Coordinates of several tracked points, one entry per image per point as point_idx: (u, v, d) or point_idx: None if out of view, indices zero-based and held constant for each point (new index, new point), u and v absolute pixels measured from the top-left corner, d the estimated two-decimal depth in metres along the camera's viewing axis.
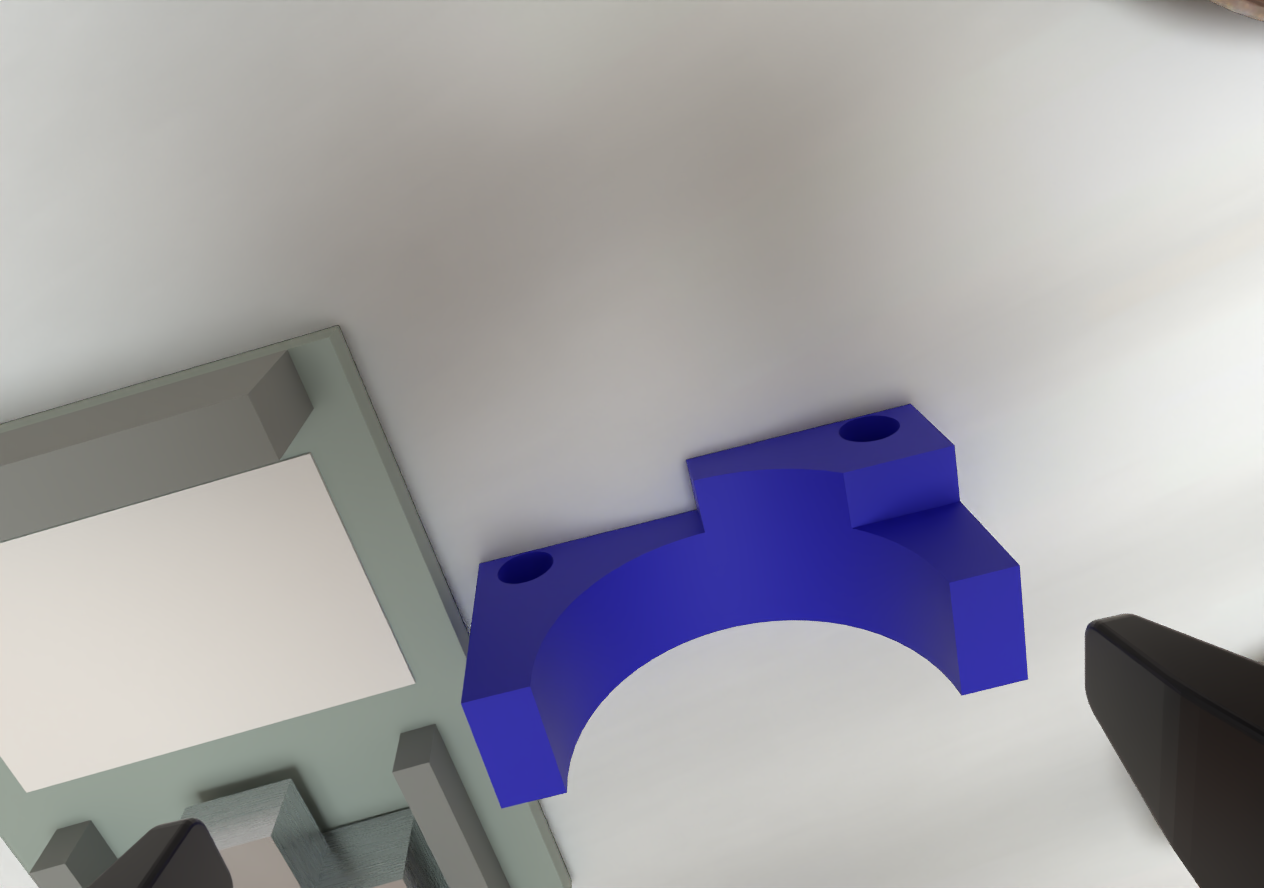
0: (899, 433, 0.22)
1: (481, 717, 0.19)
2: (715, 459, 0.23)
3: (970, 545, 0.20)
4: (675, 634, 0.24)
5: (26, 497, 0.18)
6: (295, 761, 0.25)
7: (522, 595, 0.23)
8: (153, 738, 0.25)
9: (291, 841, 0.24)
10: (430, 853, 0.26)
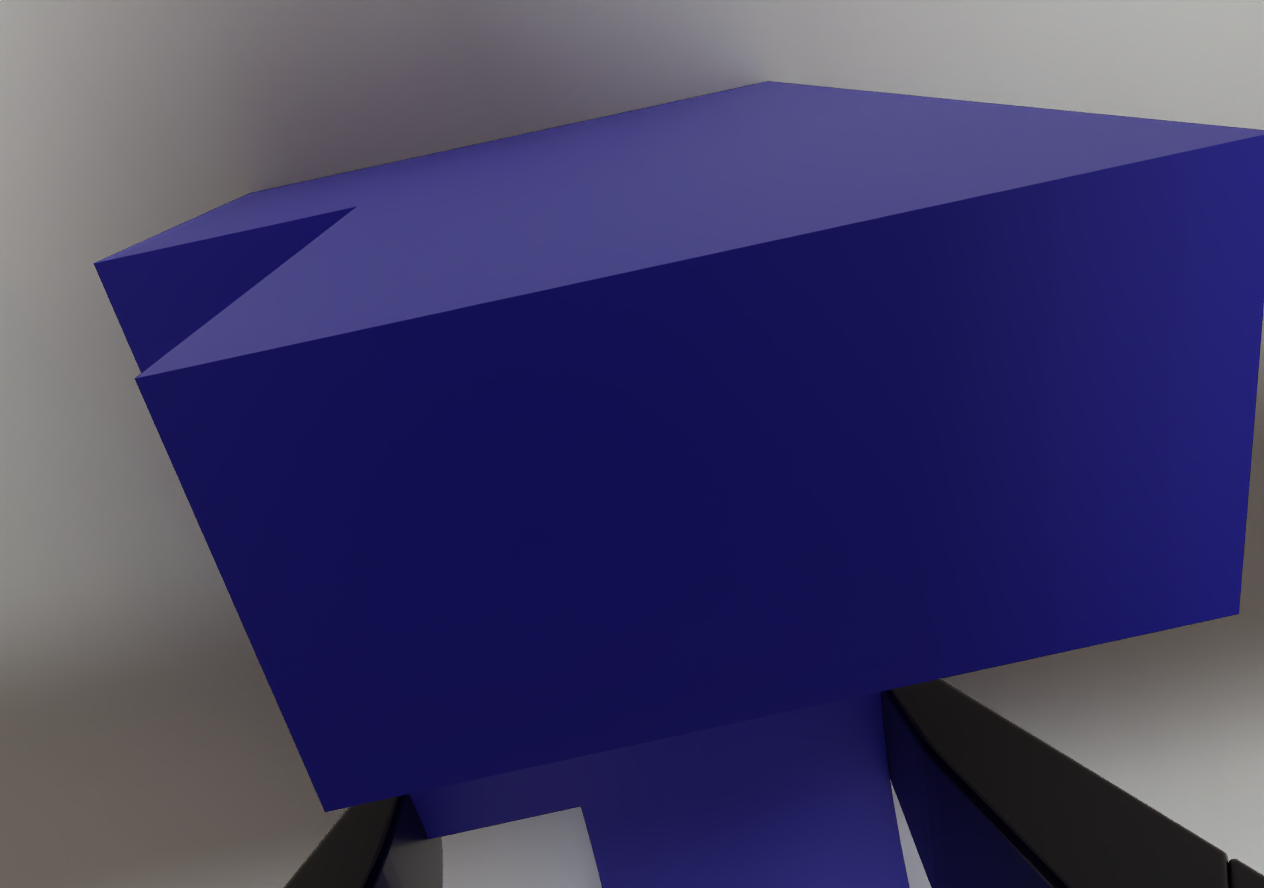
0: None
1: None
2: None
3: None
4: (867, 868, 0.09)
5: None
6: None
7: None
8: None
9: None
10: None
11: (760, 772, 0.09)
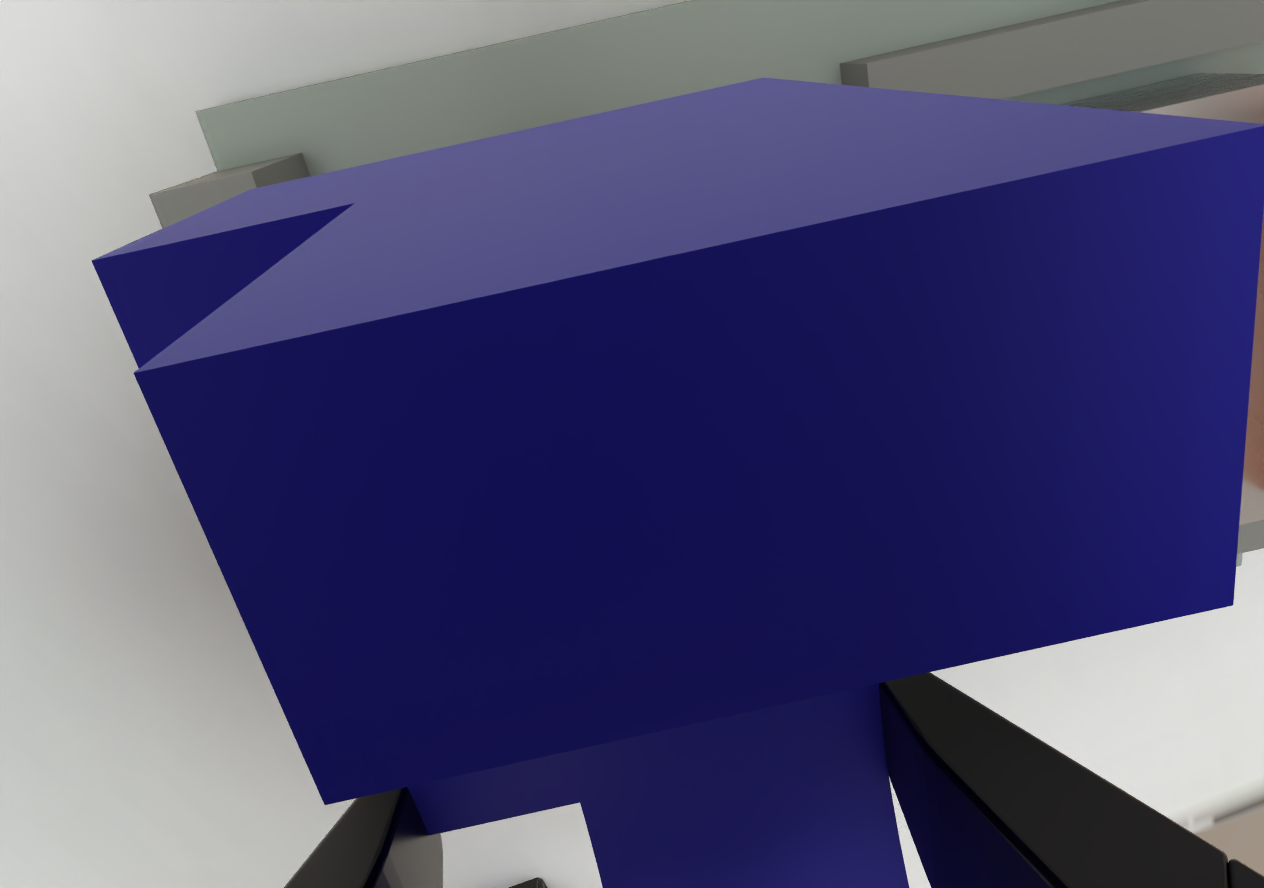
0: None
1: None
2: None
3: None
4: (866, 862, 0.09)
5: None
6: None
7: None
8: None
9: None
10: (1073, 105, 0.16)
11: (759, 767, 0.09)
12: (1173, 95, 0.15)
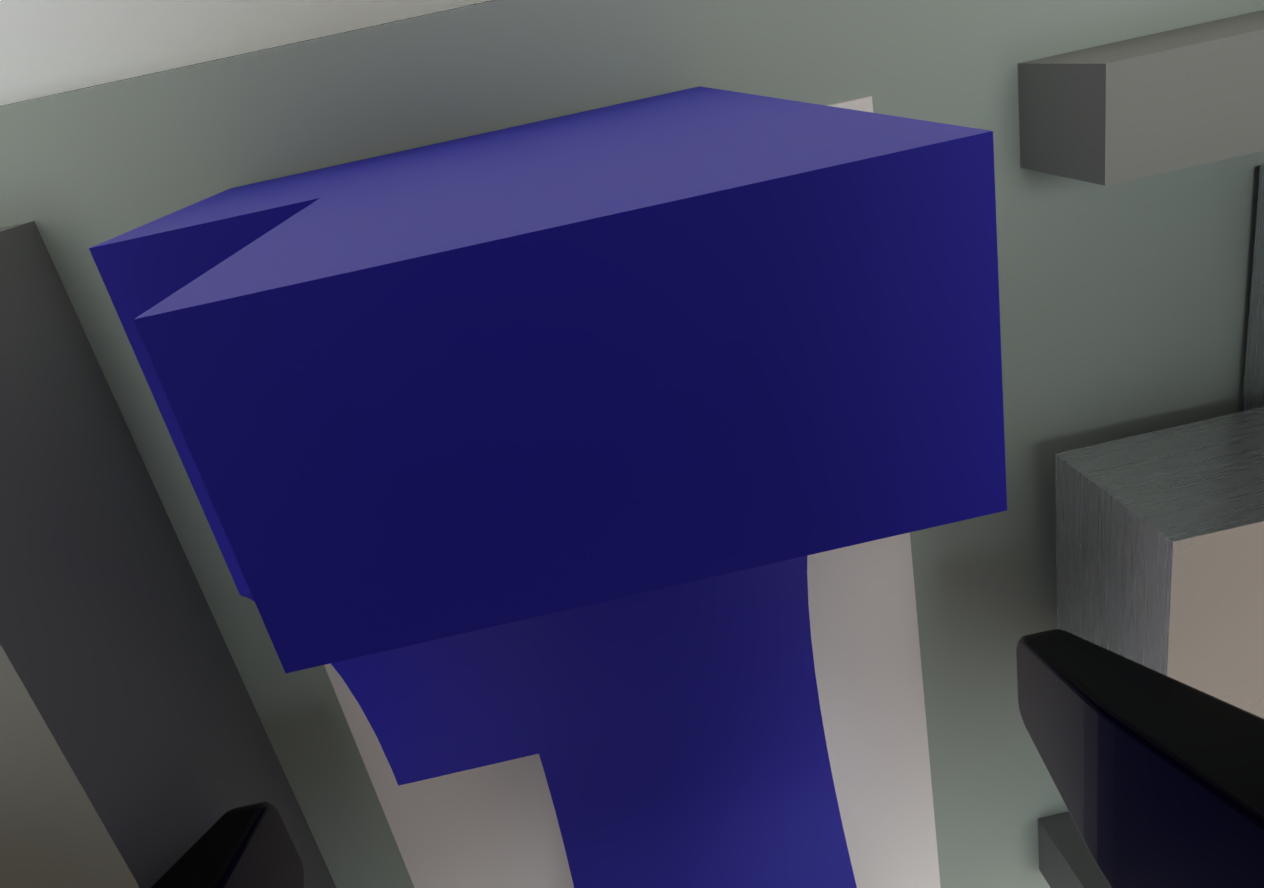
0: None
1: None
2: None
3: None
4: (804, 809, 0.10)
5: (39, 883, 0.08)
6: (1024, 436, 0.11)
7: None
8: (881, 690, 0.12)
9: (1221, 489, 0.09)
10: None
11: (704, 720, 0.10)
12: None
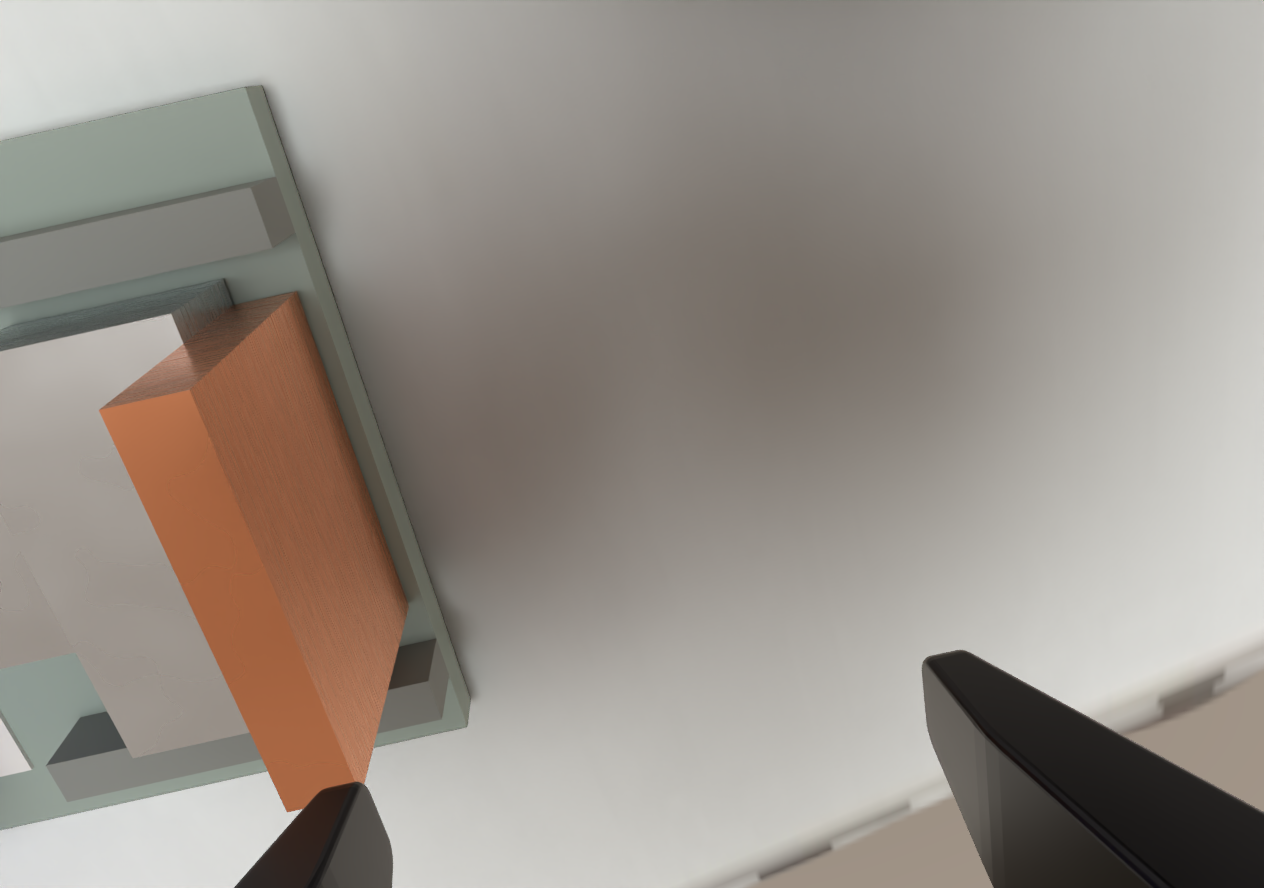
0: None
1: None
2: None
3: None
4: None
5: None
6: None
7: None
8: None
9: None
10: (71, 316, 0.16)
11: None
12: (96, 321, 0.15)
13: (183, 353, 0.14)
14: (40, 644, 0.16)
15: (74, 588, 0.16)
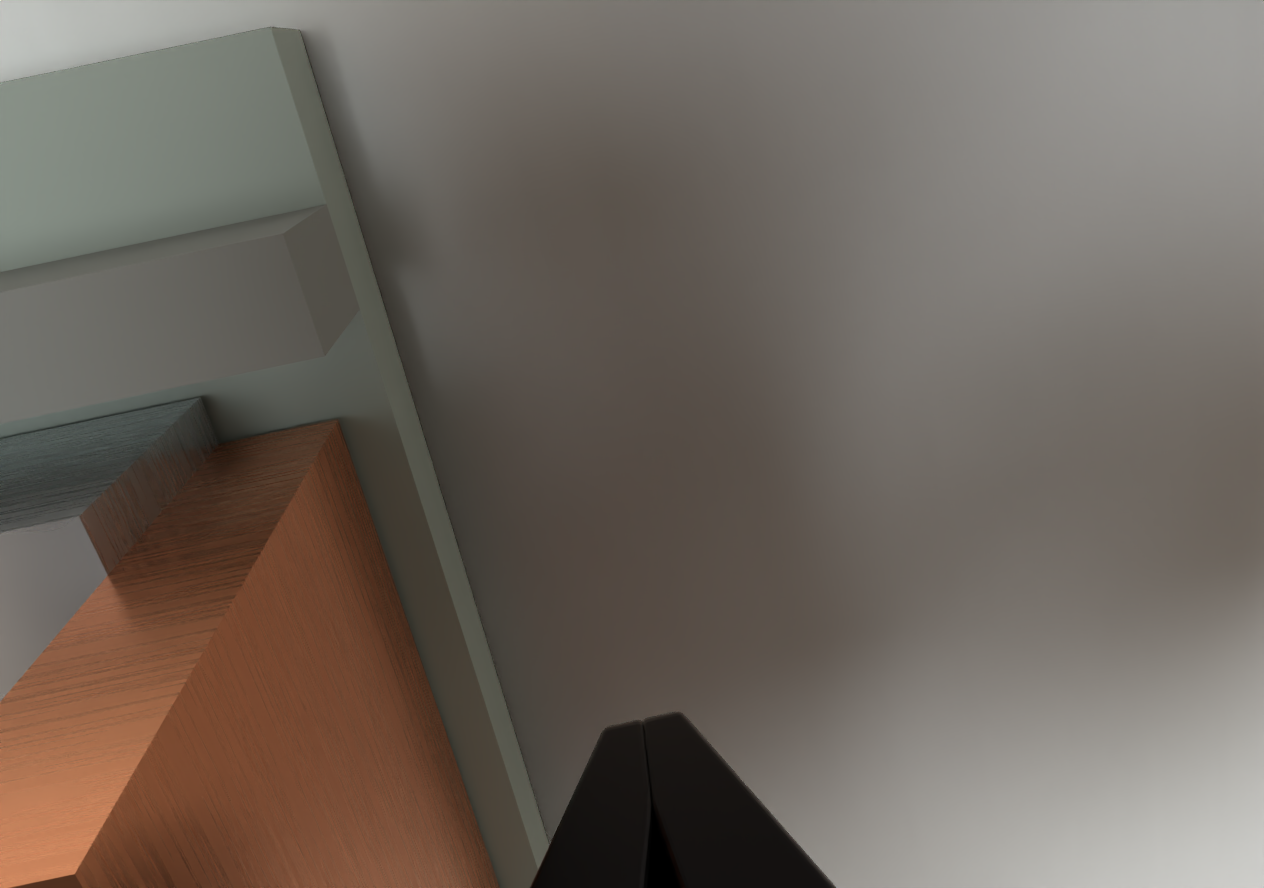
0: None
1: None
2: None
3: None
4: None
5: None
6: None
7: None
8: None
9: None
10: None
11: None
12: None
13: (98, 624, 0.06)
14: None
15: None
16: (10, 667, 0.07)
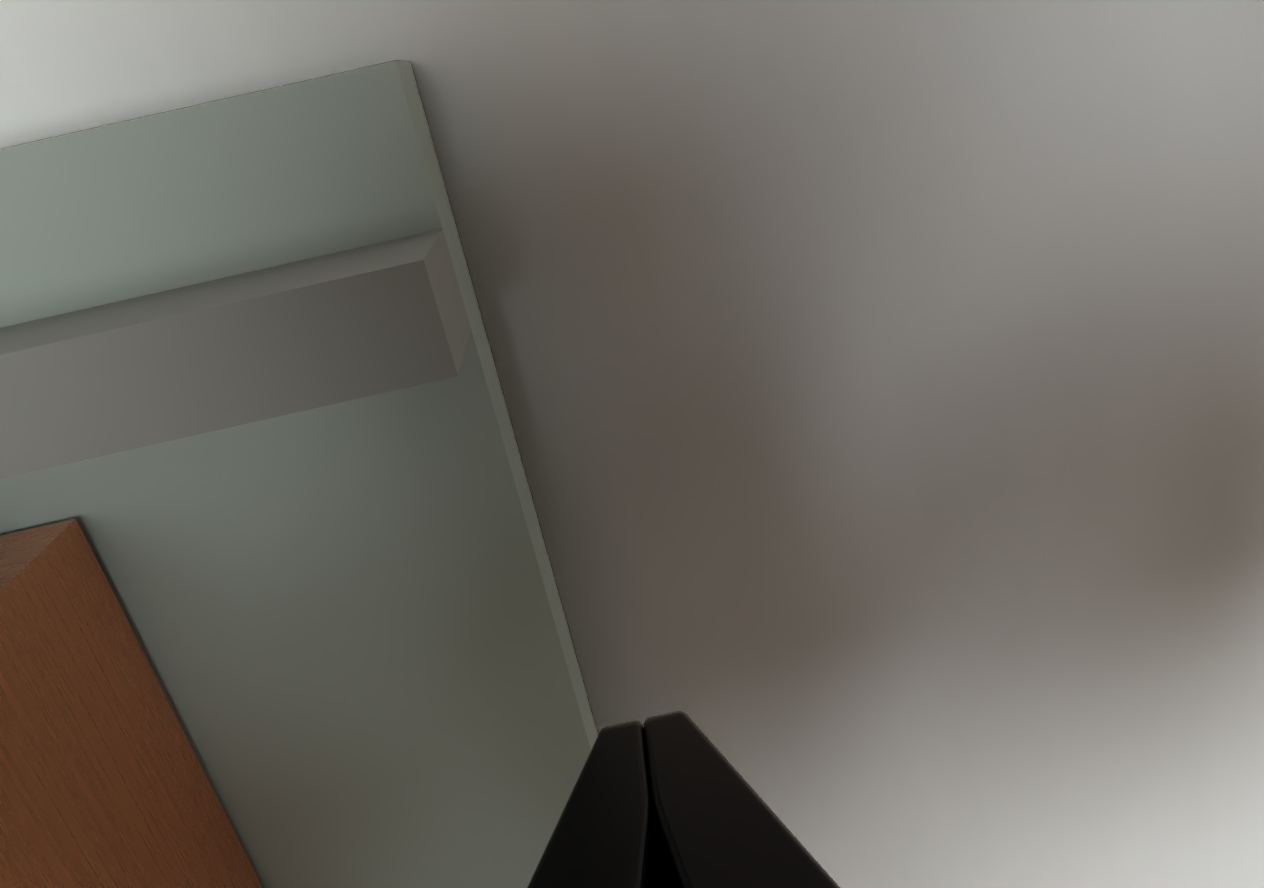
0: None
1: None
2: None
3: None
4: None
5: None
6: None
7: None
8: None
9: None
10: None
11: None
12: None
13: None
14: None
15: None
16: None
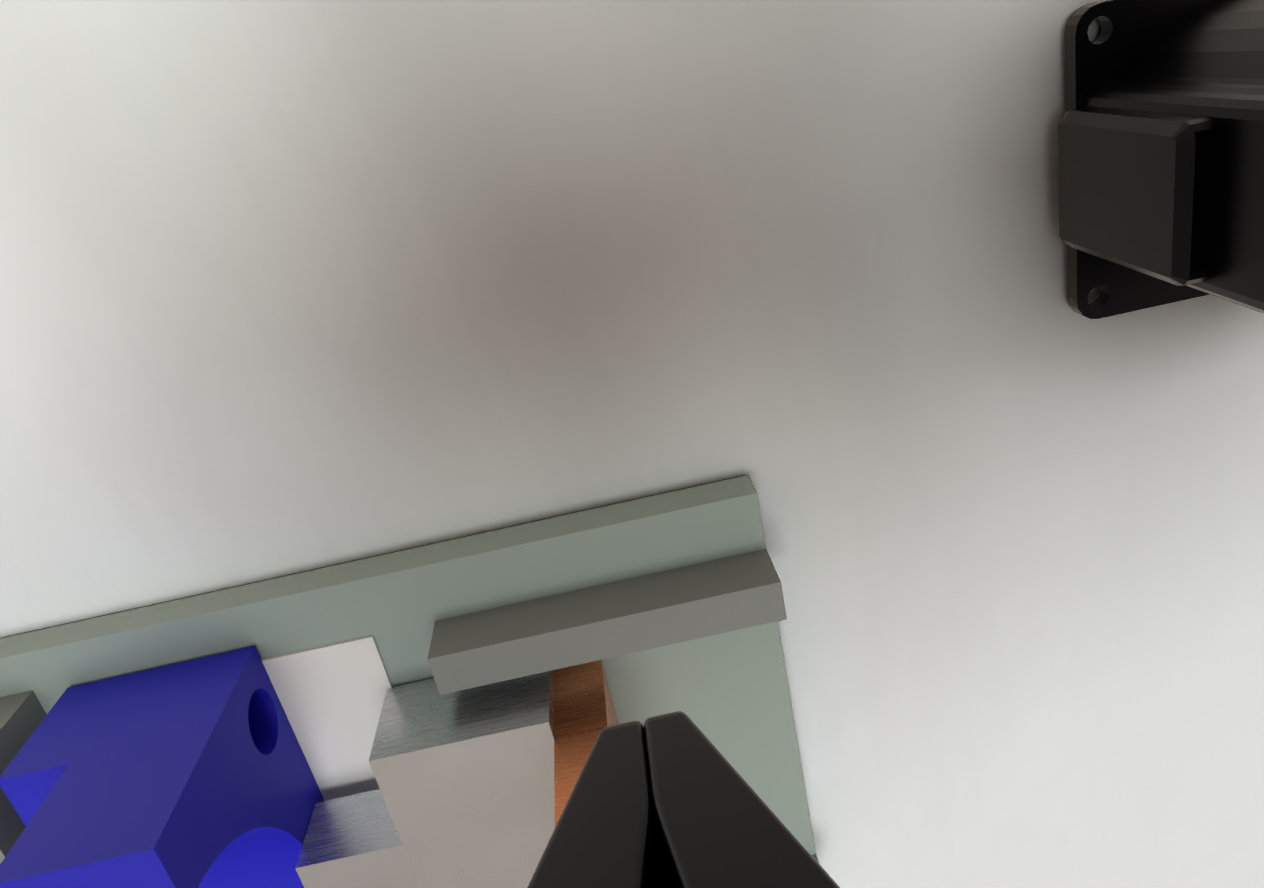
0: None
1: None
2: None
3: None
4: None
5: None
6: None
7: None
8: None
9: (339, 838, 0.21)
10: None
11: None
12: (480, 712, 0.21)
13: (566, 760, 0.19)
14: None
15: None
16: (515, 770, 0.20)
